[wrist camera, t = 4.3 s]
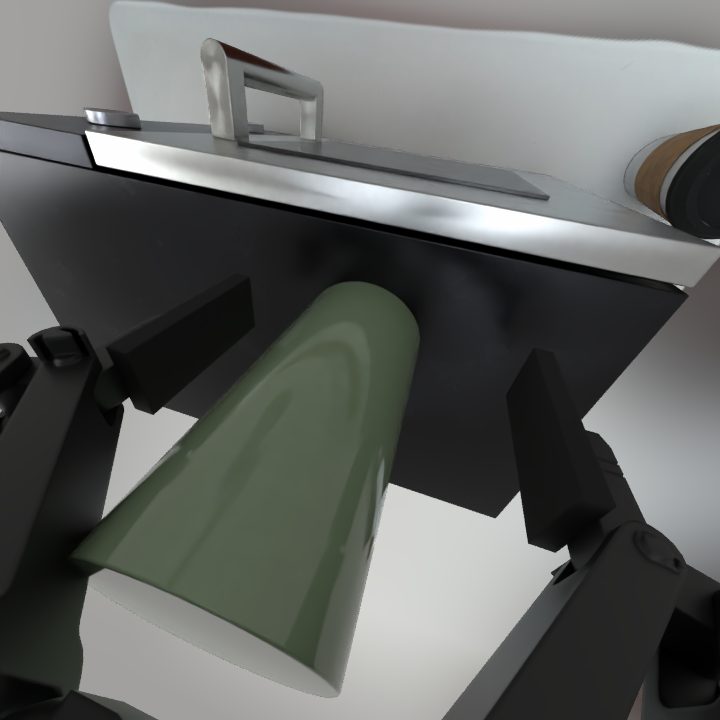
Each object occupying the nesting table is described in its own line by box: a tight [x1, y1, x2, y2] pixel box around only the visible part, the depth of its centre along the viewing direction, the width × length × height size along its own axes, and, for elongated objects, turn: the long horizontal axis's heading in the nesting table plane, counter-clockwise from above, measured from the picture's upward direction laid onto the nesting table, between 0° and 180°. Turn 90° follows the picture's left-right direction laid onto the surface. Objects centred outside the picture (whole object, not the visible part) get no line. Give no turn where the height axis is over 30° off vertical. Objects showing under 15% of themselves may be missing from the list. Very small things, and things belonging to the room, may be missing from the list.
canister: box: [68, 282, 420, 698], centre depth 13 cm, size 7×7×14 cm
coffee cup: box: [624, 124, 720, 239], centre depth 27 cm, size 8×8×15 cm
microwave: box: [0, 108, 689, 518], centre depth 33 cm, size 22×40×31 cm, turn 83°
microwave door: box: [85, 38, 720, 287], centre depth 24 cm, size 6×30×31 cm, turn 83°
